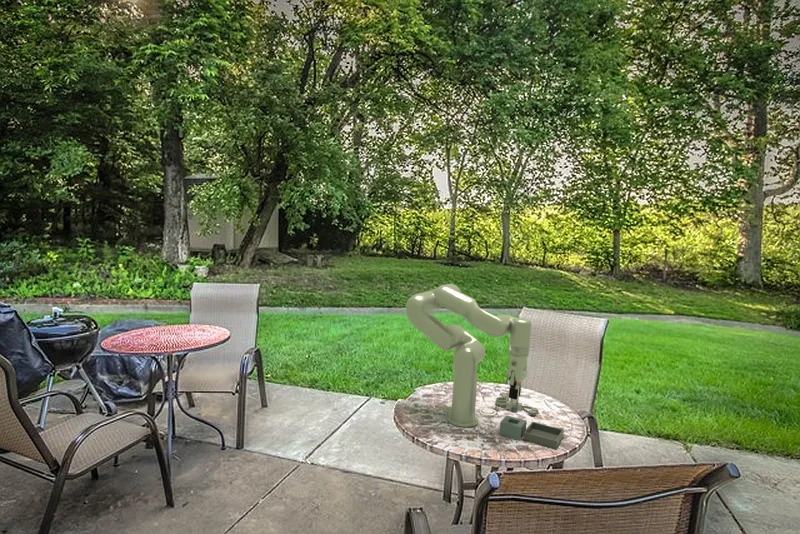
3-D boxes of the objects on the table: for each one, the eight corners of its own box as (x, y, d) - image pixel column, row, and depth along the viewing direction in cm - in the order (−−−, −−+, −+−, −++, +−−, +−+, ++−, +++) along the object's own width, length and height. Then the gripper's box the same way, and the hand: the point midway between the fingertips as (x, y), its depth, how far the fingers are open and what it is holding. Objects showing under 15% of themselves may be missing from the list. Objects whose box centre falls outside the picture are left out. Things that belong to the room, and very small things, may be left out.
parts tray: (522, 440, 174) (523, 432, 174) (531, 428, 185) (532, 421, 184) (556, 449, 168) (557, 441, 168) (563, 437, 178) (563, 429, 178)
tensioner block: (499, 434, 178) (500, 421, 177) (505, 427, 185) (506, 415, 184) (519, 440, 174) (520, 427, 173) (525, 432, 181) (526, 420, 180)
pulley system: (512, 420, 194) (543, 416, 199) (512, 409, 194) (543, 405, 198) (481, 399, 220) (509, 395, 225) (481, 389, 220) (509, 386, 224)
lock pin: (507, 411, 178) (509, 380, 177) (510, 408, 181) (512, 378, 180) (517, 414, 176) (519, 382, 175) (520, 411, 179) (522, 380, 178)
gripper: (522, 357, 168) (517, 406, 169) (534, 348, 182) (529, 393, 183) (502, 352, 171) (498, 401, 173) (515, 344, 185) (511, 389, 187)
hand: (514, 396), depth 178 cm, fingers closed on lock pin, 3 cm apart
